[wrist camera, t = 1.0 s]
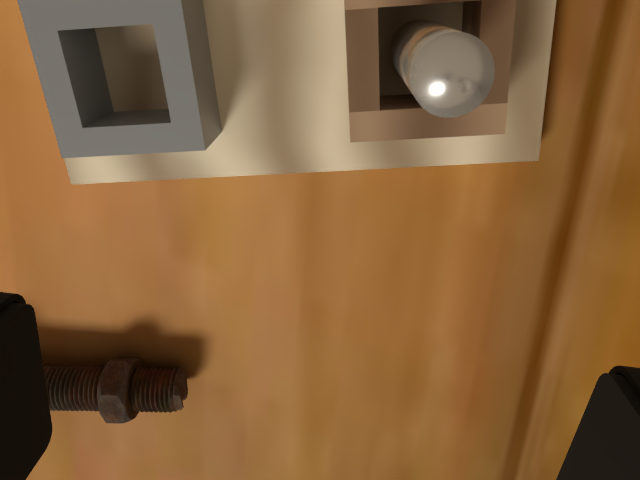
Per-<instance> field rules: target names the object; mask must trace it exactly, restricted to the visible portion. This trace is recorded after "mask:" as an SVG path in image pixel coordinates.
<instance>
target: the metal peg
mask: <svg viewBox="0 0 640 480" xmlns="http://www.w3.org/2000/svg"><path fill="white" fill-rule="evenodd" d="M389 52H390V59H391V62H392V64H393V66H394V68H395V69H396V71H397V72H398V74H399V75H400V77H401V78H402V80H403V81H404V82H405V84H406V85H407V87H408V88H409V90H410V91H411V93H412V94H413V96H414V97H415V99H416V100H417V102H418V103H419V104H420V105H421V107H422V108H424V109H425V110H426V111H427V112H429V113H431V114H433V115H435V116H439V117H444V118H453V117H459V116H462V115H465V114H467V113H469V112H471V111H472V110H474V109H475V108H477V107H478V106H479V105H480V104H481V103H482V102H483V101H484V99H485V98H486V97H487V95H488V93H489V92H490V90H491V87H492V84H493V81H494V74H495V67H494V61H493V57H492V55H491V52H490V51H489V49H488V47H487V46H486V45H485V44H484V43H483V42H482V41H481V40H480V39H479V38H477V37H475V36H473V35H471V34H468V33H465V32H462V31H459V30H456V29H452V28H449V27H446V26H443V25H440V24H437V23H434V22H430V21H427V20H422V19H418V20H412V21H409V22H407V23H405V24H404V25H402V26H401V27H400V28H399V29H398V30H397V31H396V33H395V34H394V36H393V38H392V40H391V43H390V51H389Z"/></svg>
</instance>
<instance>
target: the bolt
mask: <svg viewBox="0 0 640 480" xmlns="http://www.w3.org/2000/svg"><path fill="white" fill-rule="evenodd" d="M43 369H44V376H45V383H46V389H47V396H48V402H49V409H50V410H53V411H55V410H57V411H60V410H62V411H65V410H66V411H69V410H71V411H75V410H76V411H79V410H81V411H84V410H85V411H89V410H90V411H93V410H94V411H99V412H100V415H101V416H102V417H103V419H104V420H105V422H106V423H125V422H128V421H130V420H132V419H134V418H135V417H136V416H137V414H138V413H139V411H141V412H144V411H145V412H149V411H150V412H153V411H154V412H158V411H159V412H163V411H164V412H172V411H175V412H176V411H177V410H181V409H182V408H183V407H184V406H183V402H182V401H183V400H185V399H186V398H187V394H188V387H187V377H186V374H185V373H184V372H183V371H182V369H181V368H179V369H177V368H176V367H175V368H174V369H173V367H171V368H170V369H169V368H168V367H167V368H164V367H162V368H161V369H160V368H159V367H157V368H155V367H152V368H151V367H148V368H146V367H143V364H142V362H141V361H140V359H139V358H138V357H117V358H113V359H111V360H109V361H108V362H107V364H106V365H105V366H102V367H101V366H77V365H76V366H74V365H71V366H69V365H67V366H64V365H61V366H60V365H43Z"/></svg>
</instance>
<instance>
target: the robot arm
mask: <svg viewBox="0 0 640 480" xmlns="http://www.w3.org/2000/svg"><path fill="white" fill-rule="evenodd" d="M51 435H52V422H51V415H50V409H49V402H48V396H47V389H46V383H45V376H44V369H43V363H42V356H41V350H40V343H39V337H38V330H37V324H36V317H35V312H34V309H33V307H32V306H31V305H29V304H26V302H25V300H24V298H23V297H22V296H21V295H19V294H12V293H4V292H0V480H26V478H27V477H28V475H29V474H30V472H31V471H32V469H33V468H34V466H35V465H36V463H37V462H38V460H39V459H40V457H41V456H42V455H43V453H44V452H45V450H46V448H47V446H48V444H49V442H50V439H51ZM556 480H640V368H635V367H626V366H615V367H614V368H612V369H611V370H610V372H609V373H604V374H602V375H601V376H600V377H599V379H598V381H597V383H596V385H595V388H594V390H593V393H592V395H591V397H590V400H589V402H588V405H587V407H586V410H585V412H584V414H583V417H582V419H581V422H580V424H579V426H578V429H577V431H576V434H575V436H574V438H573V441H572V443H571V446H570V448H569V450H568V453H567V455H566V458H565V460H564V462H563V465H562V467H561V470H560V472H559V475H558V477H557V479H556Z"/></svg>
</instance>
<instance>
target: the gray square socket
mask: <svg viewBox="0 0 640 480" xmlns="http://www.w3.org/2000/svg"><path fill="white" fill-rule="evenodd" d="M17 1H18V4H19V8H20V11H21V15H22V18H23V22H24V25H25V29H26V32H27V36H28V39H29V43H30V47H31V50H32V54H33V57H34V61H35V64H36V68H37V71H38V75H39V78H40V82H41V86H42V89H43V93H44V96H45V100H46V103H47V107H48V110H49V114H50V117H51V121H52V124H53V128H54V132H55V135H56V139H57V142H58V146H59V149H60V153H61V156H62V158H78V157H96V156H114V155H132V154H151V153H169V152H187V151H205V150H206V149H207V148H208V147H209V146H210V145H211V144H212V143H213V141H214V140H215V139H216V138H217V137H218V136H219V135H220V134H221V133H222V129H221V122H220V115H219V108H218V101H217V94H216V88H215V81H214V74H213V67H212V60H211V54H210V47H209V40H208V33H207V26H206V19H205V13H204V6H203V0H17ZM143 24H153V28H154V33H155V39H156V44H157V49H158V55H159V60H160V65H161V71H162V76H163V81H164V87H165V92H166V98H167V103H168V108H169V109H156V110H140V111H123V112H114V110H113V106H112V101H111V97H110V93H109V88H108V84H107V80H106V75H105V71H104V67H103V62H102V58H101V54H100V49H99V45H98V41H97V36H96V32H95V28H102V27H116V26H130V25H143Z"/></svg>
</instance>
